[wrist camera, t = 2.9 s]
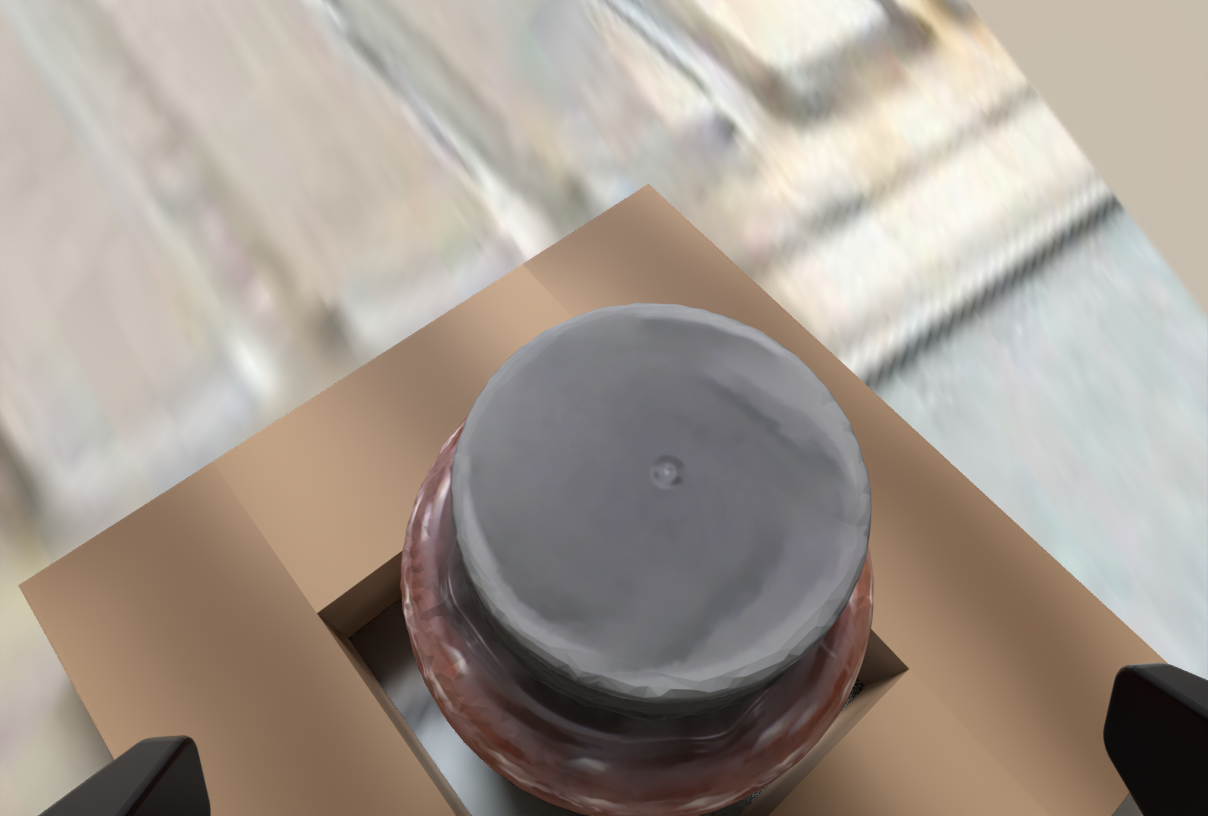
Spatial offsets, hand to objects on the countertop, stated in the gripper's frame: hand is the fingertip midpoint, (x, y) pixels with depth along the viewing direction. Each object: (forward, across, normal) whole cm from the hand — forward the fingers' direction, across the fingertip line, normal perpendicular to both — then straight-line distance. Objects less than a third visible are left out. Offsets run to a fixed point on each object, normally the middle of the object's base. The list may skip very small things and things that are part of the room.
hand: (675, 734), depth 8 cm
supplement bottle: (+9, 0, +6) cm, 10 cm away
